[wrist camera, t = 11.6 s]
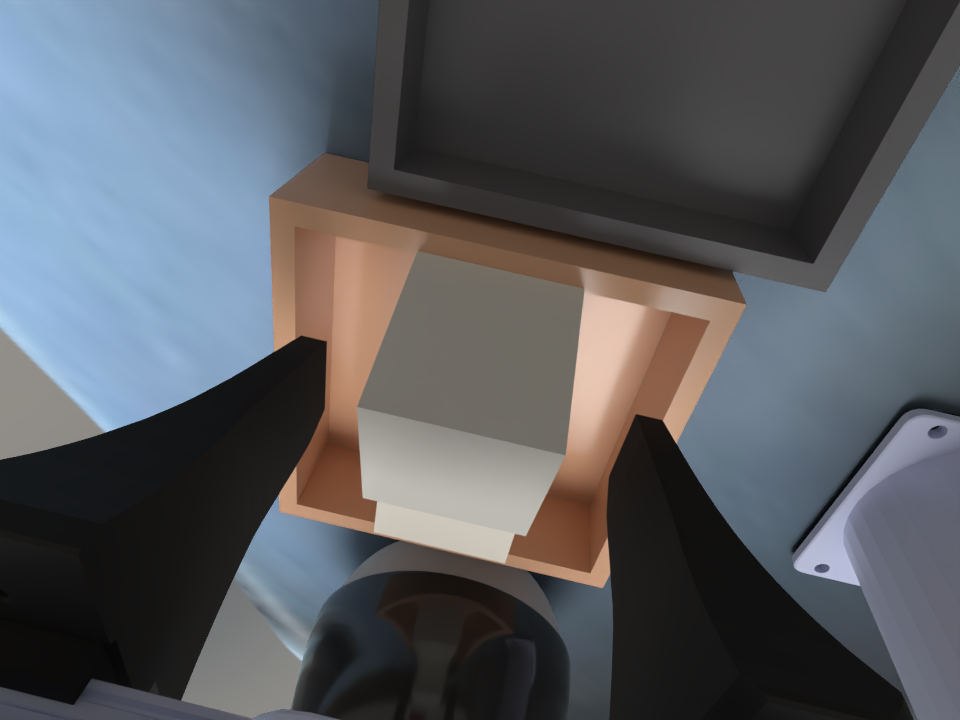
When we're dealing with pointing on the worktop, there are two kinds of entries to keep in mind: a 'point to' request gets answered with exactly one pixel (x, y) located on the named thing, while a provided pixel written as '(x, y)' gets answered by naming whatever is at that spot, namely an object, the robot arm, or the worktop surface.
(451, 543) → the stone
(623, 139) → the parts tray
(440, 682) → the dark grey rounded dome
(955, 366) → the worktop surface
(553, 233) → the terracotta dish
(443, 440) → the stone
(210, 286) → the worktop surface
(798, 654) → the robot arm
